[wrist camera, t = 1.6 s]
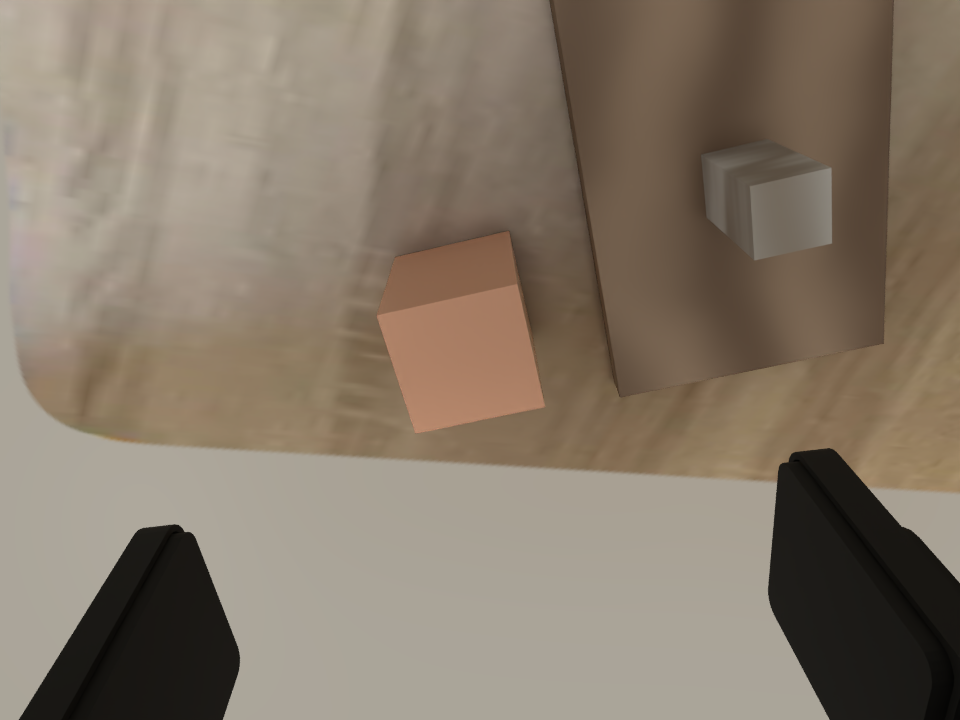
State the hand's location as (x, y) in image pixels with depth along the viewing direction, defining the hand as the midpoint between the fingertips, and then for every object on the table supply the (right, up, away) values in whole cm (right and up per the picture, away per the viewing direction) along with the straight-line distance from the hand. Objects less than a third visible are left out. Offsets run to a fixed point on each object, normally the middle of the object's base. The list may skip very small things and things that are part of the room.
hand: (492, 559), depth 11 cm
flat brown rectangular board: (+10, +11, +18) cm, 24 cm away
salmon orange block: (-1, +6, +21) cm, 22 cm away
